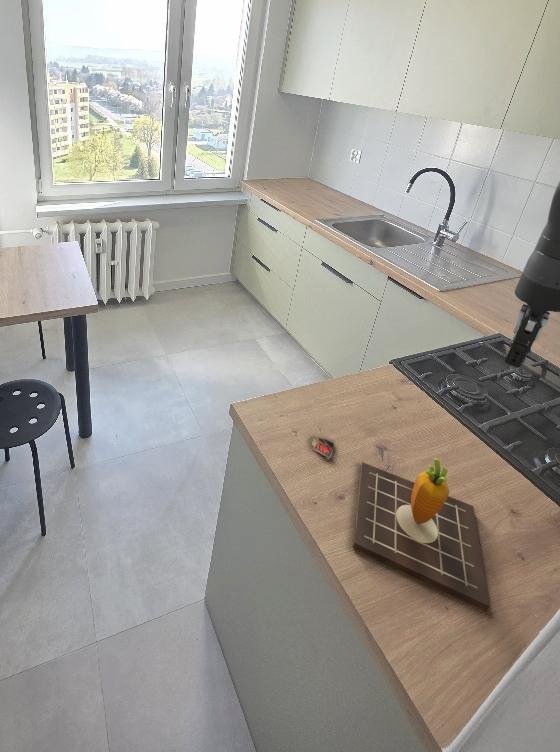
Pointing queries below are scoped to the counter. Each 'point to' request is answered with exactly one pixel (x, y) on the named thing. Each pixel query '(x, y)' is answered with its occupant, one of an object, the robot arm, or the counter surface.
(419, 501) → the carrot
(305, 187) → the counter surface
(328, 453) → the matchbox
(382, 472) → the game board
